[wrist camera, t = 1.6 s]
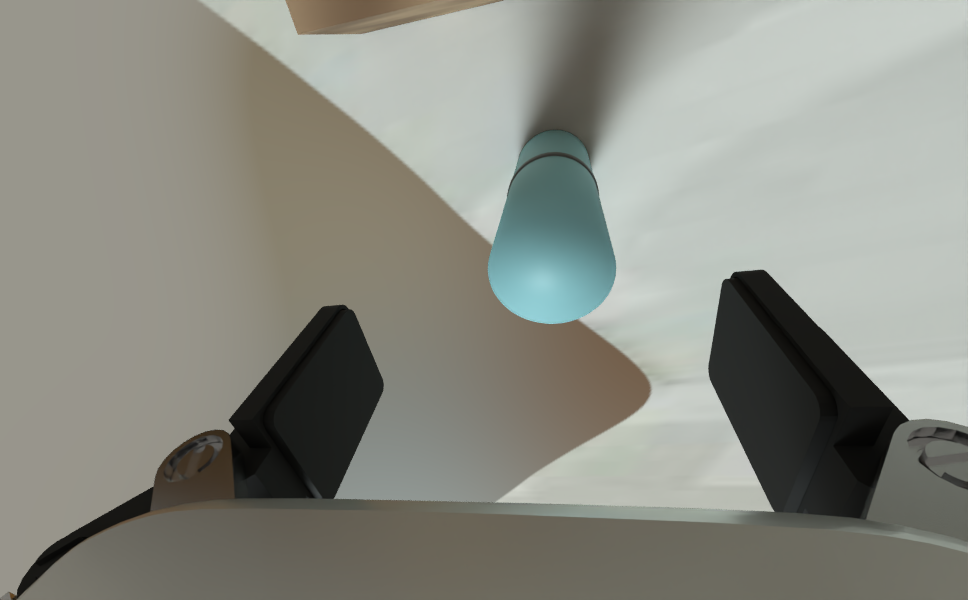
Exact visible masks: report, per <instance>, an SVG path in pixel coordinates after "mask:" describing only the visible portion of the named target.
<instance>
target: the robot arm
mask: <svg viewBox="0 0 968 600" xmlns="http://www.w3.org/2000/svg"><path fill="white" fill-rule="evenodd" d="M708 369H709V377H710V380H711V383H712V385H713V387H714V389H715V391H716V393H717V395H718V397H719V399H720V401H721V403H722V405H723V407H724V410H725V412H726V414H727V416H728V418H729V420H730V422H731V424H732V426H733V428H734V430H735V432H736V434H737V436H738V438H739V440H740V443H741V445H742V447H743V449H744V451H745V453H746V455H747V457H748V459H749V461H750V463H751V465H752V467H753V469H754V471H755V474H756V476H757V478H758V480H759V482H760V484H761V486H762V488H763V490H764V492H765V494H766V496H767V498H768V500H769V502H770V504H771V506H772V508H773V510H774V511H775V512H765V511H743V510H722V509H700V508H669V507H636V506H603V505H570V504H533V503H495V502H452V501H451V502H449V501H412V500H411V501H410V500H360V499H359V500H357V499H334V497H335V495H336V493H337V491H338V488H339V486H340V484H341V482H342V480H343V478H344V475H345V473H346V471H347V469H348V467H349V464H350V462H351V460H352V458H353V456H354V454H355V451H356V449H357V447H358V445H359V443H360V441H361V438H362V436H363V434H364V432H365V430H366V427H367V425H368V423H369V421H370V419H371V416H372V414H373V412H374V410H375V408H376V406H377V403H378V401H379V399H380V397H381V394H382V392H383V386H384V384H383V379H382V377H381V374H380V372H379V370H378V367H377V365H376V362H375V360H374V358H373V355H372V353H371V351H370V348H369V346H368V344H367V341H366V339H365V337H364V334H363V332H362V329H361V327H360V325H359V322H358V320H357V318H356V315H355V313H354V312H353V311H352V310H350V309H348V308H347V307H346V306H345V305H335V306H325V307H322V308H321V309H320V310H319V311H318V313H317V314H316V315H315V316H314V318H313V319H312V320H311V321H310V322H309V323H308V325H307V326H306V327H305V328H304V330H303V331H302V332H301V333H300V334H299V336H298V337H297V338H296V339H295V341H294V342H293V343H292V344H291V345H290V346H289V348H288V349H287V350H286V351H285V352H284V354H283V355H282V356H281V357H280V358H279V360H278V361H277V362H276V363H275V365H274V366H273V367H272V368H271V369H270V371H269V372H268V373H267V374H266V375H265V377H264V378H263V379H262V380H261V381H260V383H259V384H258V385H257V386H256V388H255V389H254V390H253V391H252V393H251V394H250V395H249V396H248V397H247V398H246V400H245V401H244V402H243V403H242V404H241V406H240V407H239V408H238V409H237V410H236V412H235V413H234V414H233V415H232V416H231V418H230V419H229V421H230V423H231V424H232V425H233V426H234V428H235V429H234V430H233V432H232V433H231V434H230V435H229V433H227V432H226V431H224V430H210V431H206V432H203V433H201V434H198V435H196V436H194V437H192V438H190V439H189V440H187V441H185V442H183V443H182V444H181V445H180V446H179V447H177V448H176V449H174V450H173V451H172V452H171V453H170V454H169V455H168V456H167V457H166V458H165V459H164V461H163V462H162V464H161V465H160V467H159V468H158V470H157V473H156V476H155V481H154V487H152V488H150V489H148V490H147V491H145V492H143V493H141V494H139V495H138V496H136V497H134V498H132V499H131V500H129V501H127V502H125V503H124V504H122V505H120V506H118V507H116V508H115V509H113V510H111V511H109V512H108V513H106V514H104V515H102V516H101V517H99V518H97V519H95V520H93V521H92V522H90V523H88V524H86V525H85V526H83V527H81V528H79V529H78V530H76V531H74V532H72V533H71V534H69V535H68V536H66V537H64V538H62V539H61V540H59V541H57V542H56V543H54V544H53V545H51V546H50V547H49V548H48V549H46V550H45V551H44V552H43V553H42V555H40V557H39V558H38V559H37V560H36V562H35V563H34V564H33V565H32V566H31V568H30V569H29V571H28V572H27V573H26V575H25V576H24V577H23V579H22V581H21V583H20V585H19V587H18V590H17V595H15V594H13V593H11V592H8V593H6V594H5V595H4V596H2V597H1V598H0V600H968V427H966V426H963V425H959V424H955V423H951V422H948V421H941V420H932V419H919V420H910V421H909V420H908V419H907V418H906V416H905V415H904V414H903V413H902V412H901V411H900V410H899V409H898V408H897V407H896V406H895V405H894V404H893V403H892V402H891V401H890V400H889V399H888V398H887V397H886V395H885V394H884V393H883V392H882V391H881V390H880V389H879V388H878V387H877V386H876V385H875V384H874V383H873V382H872V381H871V380H870V379H869V378H868V377H867V376H866V375H865V373H864V372H863V371H862V370H861V369H860V368H859V367H858V366H857V365H856V364H855V363H854V362H853V361H852V360H851V359H850V358H849V357H848V356H847V355H846V354H845V353H844V351H843V350H842V349H841V348H840V347H839V346H838V345H837V344H836V343H835V342H834V341H833V340H832V339H831V338H830V337H829V336H828V335H827V334H826V333H825V332H824V331H823V330H822V329H821V328H820V327H818V326H817V324H816V323H815V322H814V321H813V320H812V319H811V318H810V317H809V316H808V315H807V314H806V313H805V312H804V311H803V310H802V309H801V308H800V307H799V306H798V304H797V303H796V302H795V301H794V300H793V299H792V298H791V297H790V296H789V295H788V294H787V293H786V292H785V291H784V290H783V289H782V288H781V287H780V286H779V284H778V283H777V282H776V281H775V280H774V279H773V278H772V277H771V276H770V275H769V274H768V273H767V272H766V271H764V270H753V271H741V272H734V273H733V274H732V276H731V278H730V279H725V280H724V281H723V283H722V287H721V293H720V299H719V305H718V312H717V318H716V324H715V330H714V336H713V342H712V348H711V354H710V360H709V368H708Z"/></svg>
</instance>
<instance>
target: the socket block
mask: <svg viewBox="0 0 968 600" xmlns="http://www.w3.org/2000/svg"><path fill="white" fill-rule="evenodd" d="M499 1H503V0H286V3H287V5H288V8H289V11H290V14H291V17H292V19H293V22H294V25H295V28H296V31H297V33H298V35H299V34H363V33H367V32H371V31H376V30H380V29H384V28H388V27H393V26H397V25H401V24H405V23H410V22H414V21H418V20H422V19H427V18H431V17H435V16H439V15H444V14H448V13H452V12H456V11H461V10H465V9H469V8H473V7H478V6H482V5H486V4H490V3H495V2H499Z"/></svg>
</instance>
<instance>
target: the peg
mask: <svg viewBox="0 0 968 600" xmlns="http://www.w3.org/2000/svg"><path fill="white" fill-rule="evenodd" d="M488 275H489V281H490V284H491V287H492V289H493V291H494V293H495V295H496V296H497V298H498V299H499V300H500V301H501V303H502V304H503V305H504V306H506V307H507V308H508V309H509V310H510V311H512V312H513V313H515V314H516V315H518V316H520V317H522V318H525V319H528V320H531V321H534V322H539V323H547V324H552V323H553V324H555V323H564V322H569V321H573V320H575V319H578V318H581V317H583V316H585V315H587V314H588V313H590V312H592V311H593V310H594V309H596V308H597V307H598V306H599V305H600V304H601V303H602V302H603V301H604V300H605V298H606V297H607V296H608V294H609V292H610V290H611V288H612V286H613V283H614V280H615V276H616V260H615V256H614V252H613V248H612V244H611V241H610V237H609V233H608V229H607V225H606V221H605V218H604V214H603V210H602V206H601V202H600V199H599V190H598V186H597V182H596V179H595V177H594V175H593V172H592V168H591V164H590V160H589V156H588V153H587V150H586V148H585V146H584V145H583V143H582V142H581V141H580V140H579V139H578V138H577V137H576V136H574V135H573V134H571V133H569V132H566V131H562V130H549V131H545V132H542V133H540V134H538V135H536V136H534V137H533V138H532V139H531V140H529V141H528V142H527V144H526V145H525V146H524V148H523V149H522V151H521V153H520V156H519V159H518V163H517V166H516V169H515V173H514V176H513V178H512V180H511V183H510V186H509V189H508V194H507V200H506V203H505V206H504V210H503V213H502V216H501V220H500V223H499V227H498V230H497V233H496V237H495V240H494V243H493V247H492V251H491V254H490V257H489V262H488Z"/></svg>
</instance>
